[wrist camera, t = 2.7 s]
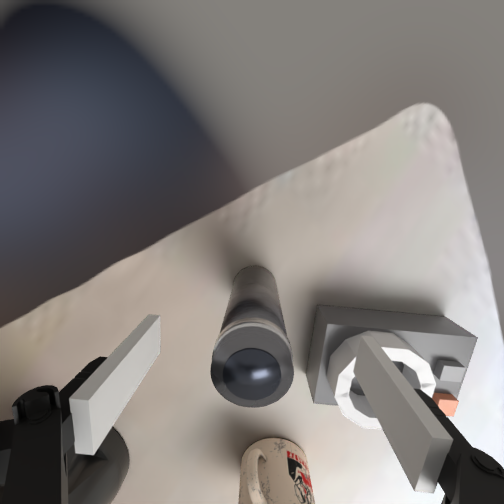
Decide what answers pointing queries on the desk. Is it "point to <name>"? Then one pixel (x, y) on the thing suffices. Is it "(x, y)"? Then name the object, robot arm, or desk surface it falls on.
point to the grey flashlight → (253, 343)
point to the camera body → (398, 350)
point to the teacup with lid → (275, 474)
